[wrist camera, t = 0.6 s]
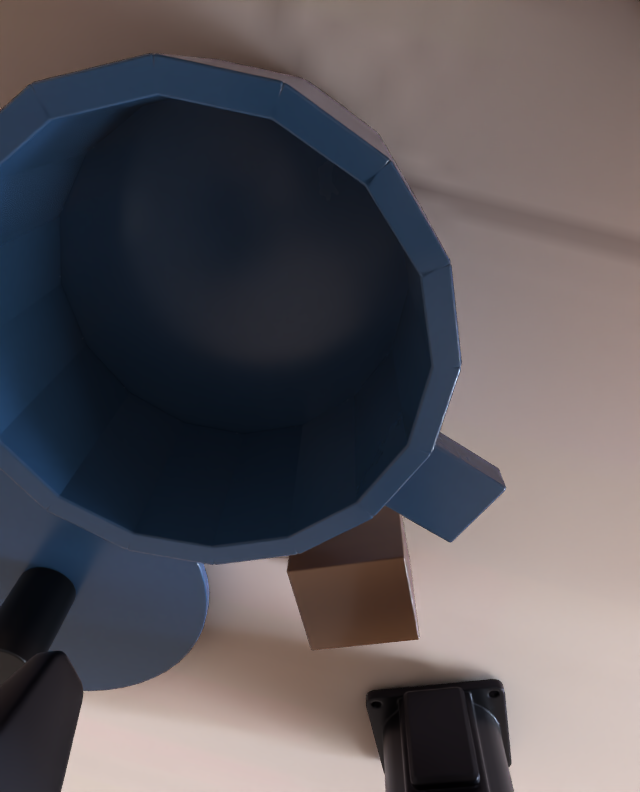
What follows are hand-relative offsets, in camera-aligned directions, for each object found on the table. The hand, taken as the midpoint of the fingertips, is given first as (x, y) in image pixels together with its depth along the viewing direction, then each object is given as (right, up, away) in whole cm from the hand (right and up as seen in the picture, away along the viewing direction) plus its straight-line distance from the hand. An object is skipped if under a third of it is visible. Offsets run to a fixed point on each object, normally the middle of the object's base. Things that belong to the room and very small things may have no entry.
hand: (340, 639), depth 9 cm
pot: (-3, +7, +10) cm, 13 cm away
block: (+1, -2, +15) cm, 15 cm away
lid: (-12, -4, +16) cm, 21 cm away
